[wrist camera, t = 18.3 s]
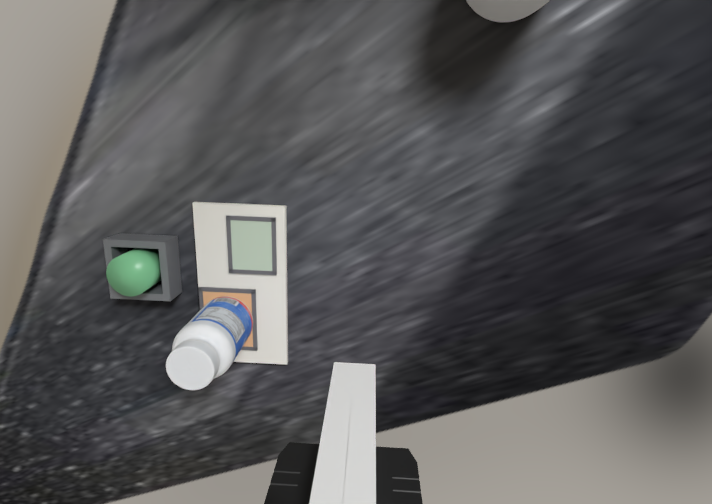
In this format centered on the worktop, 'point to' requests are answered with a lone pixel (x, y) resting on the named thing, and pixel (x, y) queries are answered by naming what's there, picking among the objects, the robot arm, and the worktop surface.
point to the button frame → (168, 263)
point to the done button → (134, 271)
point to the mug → (505, 9)
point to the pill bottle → (209, 343)
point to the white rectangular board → (246, 270)
